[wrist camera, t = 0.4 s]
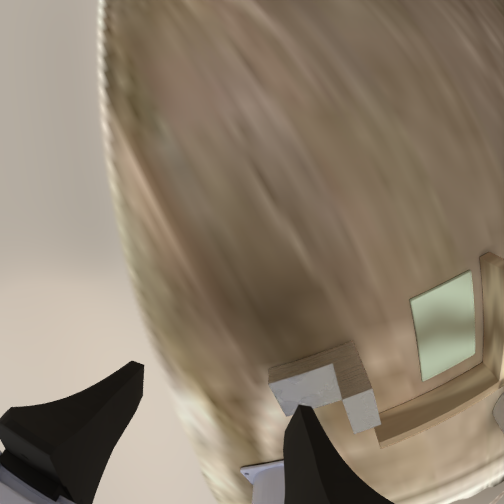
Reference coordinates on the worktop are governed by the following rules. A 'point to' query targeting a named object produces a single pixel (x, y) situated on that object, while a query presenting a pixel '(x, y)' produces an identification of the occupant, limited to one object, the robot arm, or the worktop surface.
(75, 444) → the robot arm
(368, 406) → the block
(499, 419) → the coffee cup
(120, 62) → the worktop surface
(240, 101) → the worktop surface
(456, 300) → the wooden corner frame
